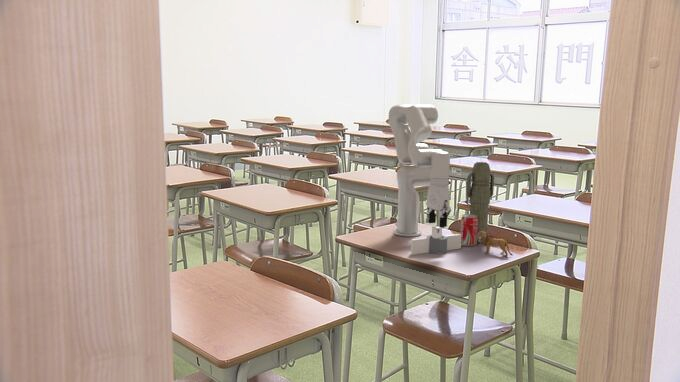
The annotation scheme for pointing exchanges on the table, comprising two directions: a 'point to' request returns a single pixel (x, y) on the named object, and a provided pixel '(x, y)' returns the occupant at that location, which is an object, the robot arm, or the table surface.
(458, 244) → the hinge
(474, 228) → the soda can
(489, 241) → the lion figurine
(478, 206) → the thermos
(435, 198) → the robot arm
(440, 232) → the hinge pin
